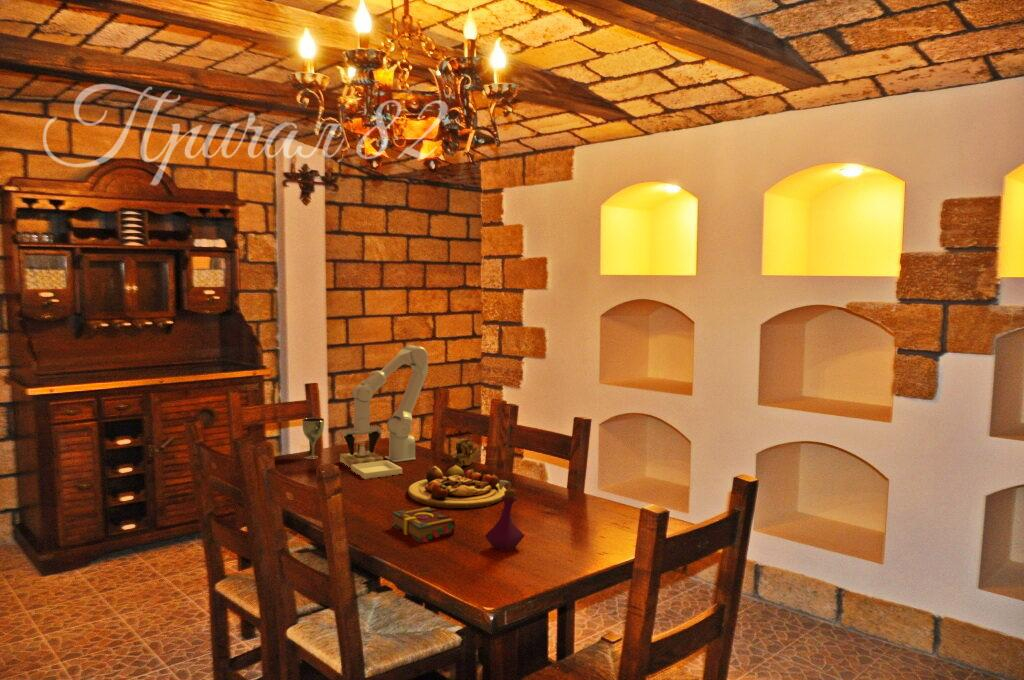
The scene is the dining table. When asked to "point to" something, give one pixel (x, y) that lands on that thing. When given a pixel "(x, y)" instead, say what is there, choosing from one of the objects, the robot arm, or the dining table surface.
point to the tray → (376, 469)
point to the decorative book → (423, 523)
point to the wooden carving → (464, 452)
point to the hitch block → (353, 459)
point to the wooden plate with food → (456, 489)
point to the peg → (361, 449)
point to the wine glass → (313, 431)
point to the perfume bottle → (505, 524)
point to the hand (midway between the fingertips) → (361, 453)
